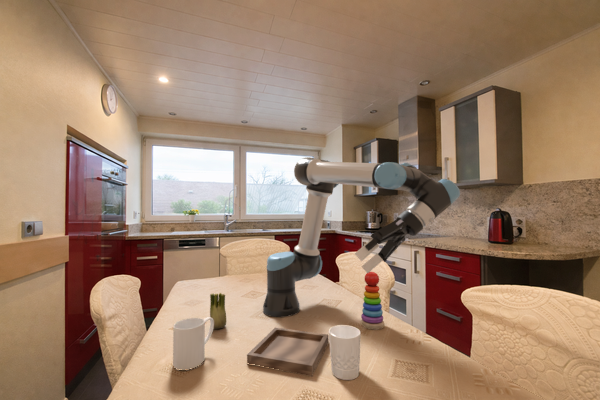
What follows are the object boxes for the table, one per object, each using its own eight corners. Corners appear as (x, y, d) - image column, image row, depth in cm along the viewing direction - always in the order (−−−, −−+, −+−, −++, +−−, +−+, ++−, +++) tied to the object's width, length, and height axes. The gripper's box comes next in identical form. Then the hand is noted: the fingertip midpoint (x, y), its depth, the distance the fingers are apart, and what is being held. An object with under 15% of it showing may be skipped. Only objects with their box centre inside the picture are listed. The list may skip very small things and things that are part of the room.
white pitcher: (185, 374, 67) (186, 331, 68) (166, 366, 71) (167, 325, 72) (222, 352, 77) (222, 315, 78) (203, 346, 81) (203, 311, 82)
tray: (247, 364, 71) (247, 354, 71) (275, 335, 88) (274, 327, 88) (312, 376, 65) (311, 365, 66) (328, 342, 82) (328, 334, 83)
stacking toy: (385, 331, 90) (383, 274, 91) (361, 329, 91) (359, 274, 93) (383, 322, 98) (381, 270, 99) (360, 320, 99) (359, 269, 100)
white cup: (327, 364, 70) (326, 325, 71) (356, 362, 71) (355, 324, 72) (333, 383, 63) (332, 339, 63) (366, 380, 63) (364, 337, 64)
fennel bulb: (208, 327, 95) (208, 293, 96) (220, 323, 99) (220, 290, 100) (216, 332, 92) (216, 296, 92) (229, 327, 95) (229, 293, 96)
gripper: (426, 208, 69) (364, 261, 68) (422, 241, 90) (374, 283, 88) (404, 191, 73) (345, 240, 72) (405, 226, 94) (359, 265, 93)
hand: (361, 264), depth 80 cm, fingers open, 13 cm apart
